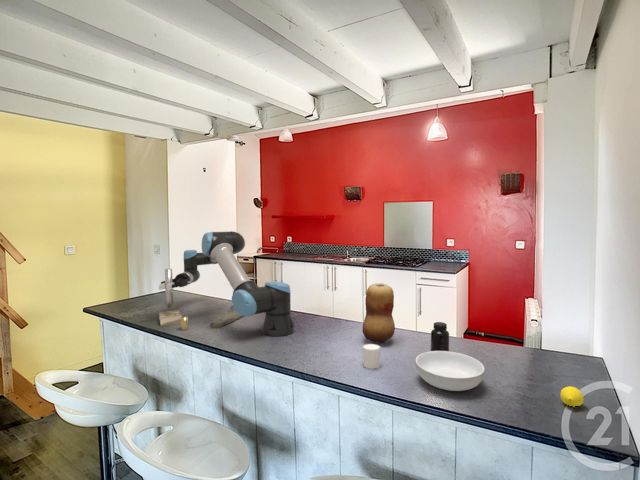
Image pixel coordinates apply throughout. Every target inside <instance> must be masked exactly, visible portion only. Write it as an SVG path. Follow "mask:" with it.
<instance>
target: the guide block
mask: <svg viewBox="0 0 640 480" xmlns="http://www.w3.org/2000/svg"><path fill="white" fill-rule="evenodd" d="M180 317H183V316H182V314H181V312H180V310H178V309H175V310H169V311H160V312H158V320H159V323H160V327H162V326H163V327H164V326H170V325H177V324H178V325H179V324H181V321H180Z"/></svg>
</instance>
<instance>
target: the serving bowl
mask: <svg viewBox="0 0 640 480" xmlns="http://www.w3.org/2000/svg"><path fill="white" fill-rule="evenodd" d="M414 362H415V368H416V370H417V373H418V374H419V377H421V378H422V380H423V381H425V382H426V383H427V384H429V385H431V386H432V387H435V388H437V389H441V390H445V391H451V392H463V391H469V390H471V389H473V388H475V387H477V386H478V385H480V384H481V382H482V380H483V378H484V375H485V371H486V370H485V366H484V364H483V363H482V362H481V361H479V360H478V359H477V358H475V357H472V356H470V355H466V354H465V353H459V352H455V351H450V350H449V351H431V350H430V351H425V352H422V353H420V354H418V355H417V356H416V358H415V361H414Z"/></svg>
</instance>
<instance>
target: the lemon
mask: <svg viewBox="0 0 640 480" xmlns="http://www.w3.org/2000/svg"><path fill="white" fill-rule="evenodd" d="M560 399H561V401H562V402H563V403H564V404H565V405H566V404H568V405H569V406H568V405H567V406H568V407H570V406H574V407H573V408H576V407H575V406H579V407H580V406H581V405H583V403H584V401H585V399H584V395H583V392H582V391H580V390H579V389H578V388H577V387H575V386H570V385H569V386H566V387H563V388H562V389H561V391H560Z"/></svg>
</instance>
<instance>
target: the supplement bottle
mask: <svg viewBox="0 0 640 480" xmlns="http://www.w3.org/2000/svg"><path fill="white" fill-rule="evenodd" d="M447 325H448V324H447V323H446V322H442V321H441V322H440V321H435V322H433V329H432V330H431V331H430V351H449V352H450V333H449V331H448V330H447V329H448V327H447Z"/></svg>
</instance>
